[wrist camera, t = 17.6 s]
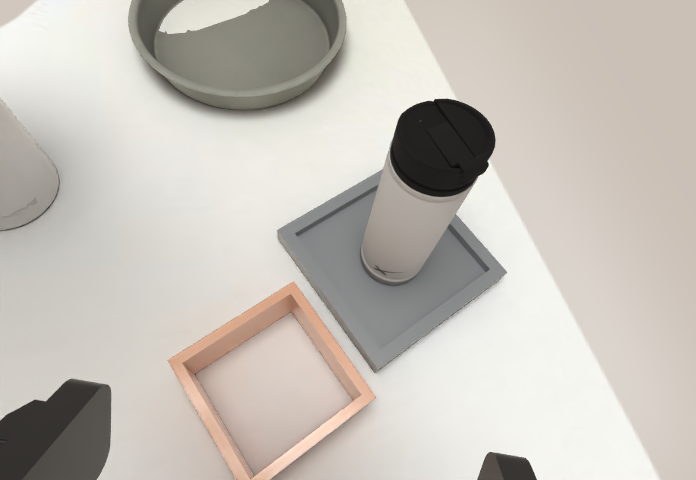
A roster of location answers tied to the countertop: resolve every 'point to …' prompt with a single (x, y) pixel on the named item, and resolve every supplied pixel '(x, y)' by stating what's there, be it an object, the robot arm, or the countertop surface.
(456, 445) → the countertop surface
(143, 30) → the cake pan
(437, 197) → the travel mug
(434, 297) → the tray
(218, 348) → the holder
